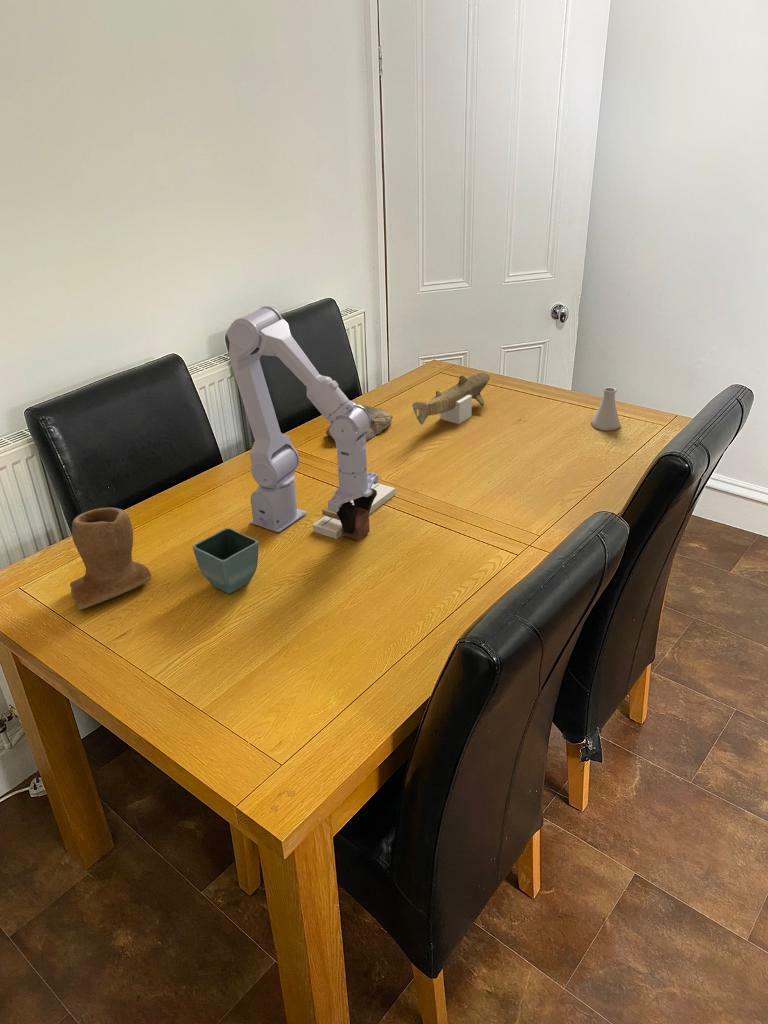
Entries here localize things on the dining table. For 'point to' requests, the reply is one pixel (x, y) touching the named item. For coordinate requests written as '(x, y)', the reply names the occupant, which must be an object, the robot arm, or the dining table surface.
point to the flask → (607, 412)
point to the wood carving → (454, 400)
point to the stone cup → (105, 557)
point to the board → (334, 526)
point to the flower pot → (227, 559)
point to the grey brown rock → (374, 421)
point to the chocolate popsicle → (360, 522)
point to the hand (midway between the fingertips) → (355, 527)
